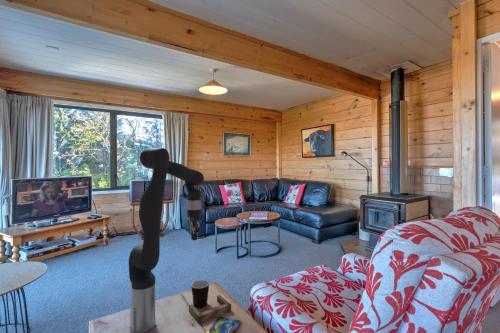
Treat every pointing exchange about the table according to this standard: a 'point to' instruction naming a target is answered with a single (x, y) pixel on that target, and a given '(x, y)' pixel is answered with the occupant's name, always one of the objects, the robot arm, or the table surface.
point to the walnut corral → (211, 310)
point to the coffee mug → (200, 293)
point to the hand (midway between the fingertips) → (194, 239)
